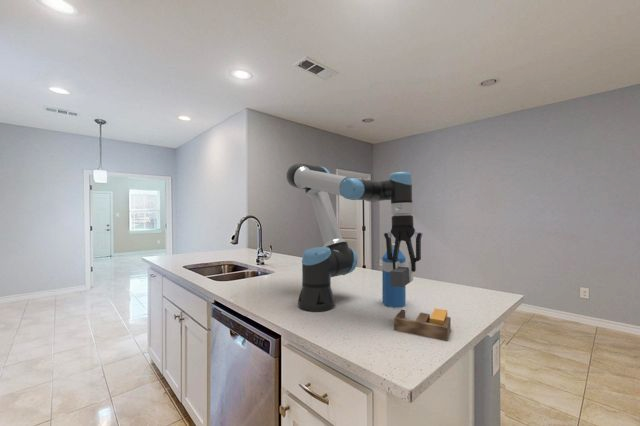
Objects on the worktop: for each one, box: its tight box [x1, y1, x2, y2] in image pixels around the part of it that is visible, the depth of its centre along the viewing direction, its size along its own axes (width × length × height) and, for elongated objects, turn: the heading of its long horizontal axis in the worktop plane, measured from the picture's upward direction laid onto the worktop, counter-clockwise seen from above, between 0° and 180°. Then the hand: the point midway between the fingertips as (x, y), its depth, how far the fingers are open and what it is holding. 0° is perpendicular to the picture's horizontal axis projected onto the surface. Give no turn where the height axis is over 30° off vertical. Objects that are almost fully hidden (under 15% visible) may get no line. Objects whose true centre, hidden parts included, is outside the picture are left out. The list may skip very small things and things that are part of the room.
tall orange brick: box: [430, 307, 448, 325], centre depth 94 cm, size 4×11×5 cm, turn 151°
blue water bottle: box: [381, 243, 407, 308], centre depth 120 cm, size 9×9×25 cm
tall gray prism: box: [390, 266, 411, 287], centre depth 99 cm, size 4×11×5 cm, turn 148°
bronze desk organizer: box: [393, 309, 452, 342], centre depth 93 cm, size 16×10×4 cm, turn 60°
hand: (404, 280), depth 103 cm, fingers closed on tall gray prism, 4 cm apart
